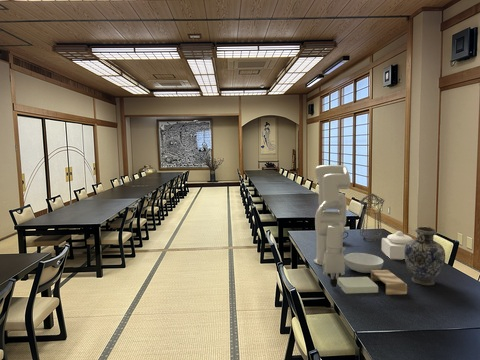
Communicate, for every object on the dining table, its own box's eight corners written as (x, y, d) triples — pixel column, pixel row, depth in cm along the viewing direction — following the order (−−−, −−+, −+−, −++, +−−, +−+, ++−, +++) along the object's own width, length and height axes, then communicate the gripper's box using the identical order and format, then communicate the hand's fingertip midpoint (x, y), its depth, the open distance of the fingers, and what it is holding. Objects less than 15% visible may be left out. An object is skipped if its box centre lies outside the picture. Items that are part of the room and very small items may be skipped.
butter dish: (408, 251, 227) (409, 227, 225) (419, 260, 209) (421, 235, 207) (381, 250, 229) (382, 227, 227) (389, 259, 211) (391, 234, 209)
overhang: (370, 280, 179) (371, 270, 179) (388, 279, 180) (389, 269, 179) (386, 294, 162) (387, 283, 162) (406, 294, 163) (407, 283, 162)
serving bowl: (386, 278, 182) (387, 266, 181) (345, 275, 186) (346, 263, 185) (379, 264, 202) (379, 253, 201) (342, 262, 206) (342, 251, 205)
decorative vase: (408, 270, 192) (411, 222, 188) (446, 279, 180) (450, 227, 176) (397, 283, 175) (400, 230, 172) (438, 293, 163) (443, 236, 160)
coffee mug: (329, 240, 252) (329, 227, 251) (339, 239, 254) (339, 226, 253) (338, 245, 241) (338, 231, 240) (348, 244, 243) (349, 230, 242)
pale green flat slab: (336, 283, 176) (337, 277, 175) (367, 282, 177) (367, 276, 176) (345, 293, 164) (345, 287, 164) (377, 292, 165) (378, 286, 164)
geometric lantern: (383, 238, 256) (385, 192, 252) (379, 244, 243) (381, 196, 238) (361, 235, 265) (363, 191, 260) (356, 241, 251) (358, 194, 247)
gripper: (346, 247, 172) (345, 282, 174) (317, 248, 171) (316, 283, 173) (352, 252, 164) (351, 288, 166) (321, 252, 163) (320, 289, 165)
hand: (333, 285), depth 169 cm, fingers closed
